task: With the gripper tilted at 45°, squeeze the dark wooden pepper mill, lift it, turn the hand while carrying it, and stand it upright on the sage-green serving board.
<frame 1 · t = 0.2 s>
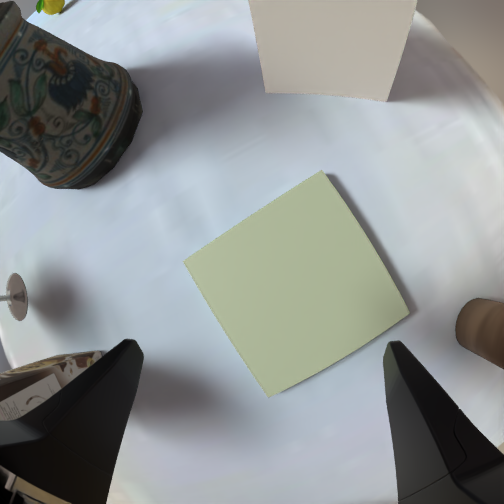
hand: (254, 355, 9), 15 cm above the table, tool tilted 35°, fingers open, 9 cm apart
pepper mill: (474, 323, 20), on the table
lemon: (61, 11, 35), on the table
milk: (324, 55, 24), on the table
coffee box: (85, 375, 27), on the table
beer stein: (83, 133, 29), on the table
wine glass: (17, 297, 30), on the table
serving board: (297, 287, 23), on the table
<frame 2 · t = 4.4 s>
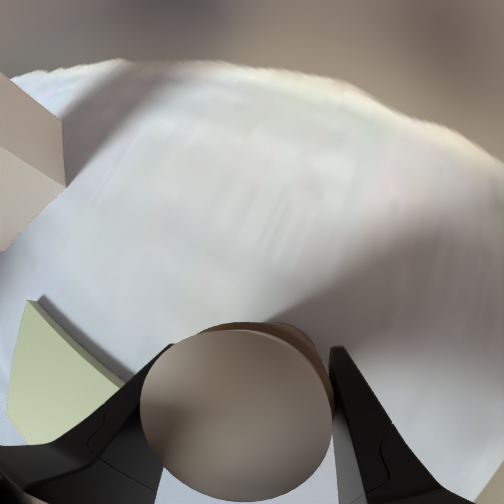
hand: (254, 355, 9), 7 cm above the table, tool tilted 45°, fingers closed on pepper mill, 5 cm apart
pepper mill: (274, 366, 15), on the table, touching gripper
milk: (30, 183, 24), on the table
serving board: (61, 411, 16), on the table
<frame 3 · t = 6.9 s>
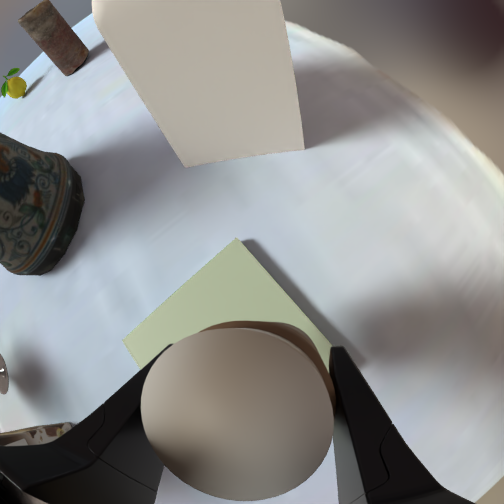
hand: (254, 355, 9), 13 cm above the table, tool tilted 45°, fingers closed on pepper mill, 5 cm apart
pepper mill: (275, 365, 15), point 7 cm above the table, touching gripper
lemon: (25, 94, 46), on the table
milk: (241, 116, 28), on the table
coffee box: (61, 445, 23), on the table
candle: (78, 64, 41), on the table
beer stein: (40, 222, 31), on the table
serving board: (229, 358, 22), on the table
when the fingers open (9 cm above the table, at t = 9.2 s): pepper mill drops 1 cm, resting on serving board.
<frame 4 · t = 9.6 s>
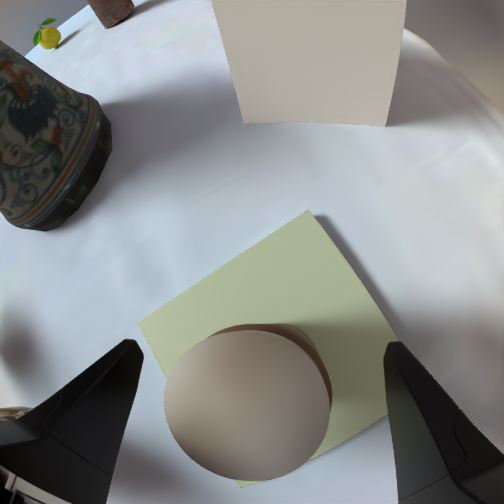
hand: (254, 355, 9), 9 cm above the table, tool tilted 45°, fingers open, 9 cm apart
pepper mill: (277, 363, 16), point 1 cm above the table, touching serving board
lemon: (57, 46, 42), on the table
milk: (312, 80, 23), on the table
coffee box: (44, 433, 19), on the table
candle: (121, 18, 36), on the table
beer stein: (54, 172, 27), on the table
serving board: (278, 360, 17), on the table
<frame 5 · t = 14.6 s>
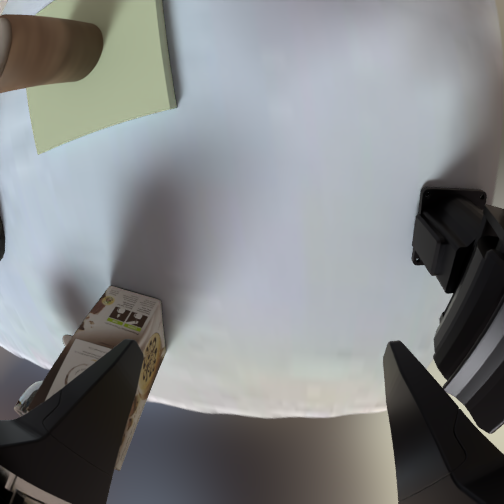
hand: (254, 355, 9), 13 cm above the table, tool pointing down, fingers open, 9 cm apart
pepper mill: (78, 51, 14), point 1 cm above the table, touching serving board
coffee box: (139, 320, 29), on the table
wine glass: (81, 350, 36), on the table
serving board: (87, 52, 15), on the table
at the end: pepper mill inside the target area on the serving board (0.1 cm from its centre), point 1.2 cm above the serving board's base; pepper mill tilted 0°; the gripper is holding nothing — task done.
